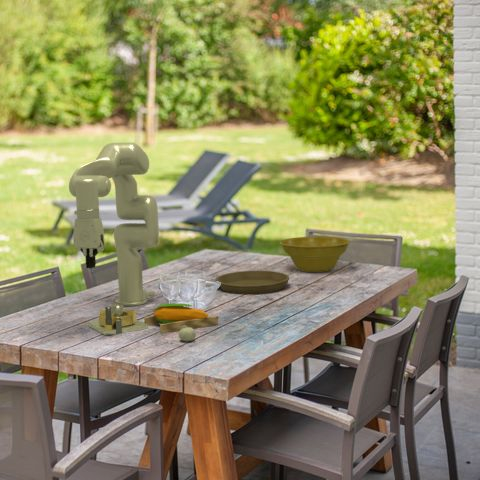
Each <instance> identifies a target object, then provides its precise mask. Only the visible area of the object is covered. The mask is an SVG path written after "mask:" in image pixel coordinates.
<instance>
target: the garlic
mask: <svg viewBox="0 0 480 480" xmlns="http://www.w3.org/2000/svg"><path fill="white" fill-rule="evenodd" d="M183 327H186V328H183ZM182 328H183V329H181V330H180V331H178V338H179V339H180V340H181V341H183V342H188V343H189V342H192V341H194V340H195V339H196V337H197V336H196V335H197V334H196V331H195V328H194V329H192V328H190V327H187V326H185V325H184V326H182Z"/></svg>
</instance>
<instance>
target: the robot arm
mask: <svg viewBox="0 0 480 480" xmlns="http://www.w3.org/2000/svg"><path fill="white" fill-rule="evenodd" d="M149 169H150V160H149V156H148V155H147V153H146V152H145V150H143V148H142V147H141V146H140V145H139V144H137V143H135V142H111V143H107V144H105V145H104V146H103V147H102V149H101V151H100V152H99V153H98V154H97V157H96V158H95V159H94V160H92V161H90V162H86V164H83V165H81V166H79V167H78V168H77V169H75V171H74V172H73V173H72V175H71V177H70V179H69V181H68V191H69V193H70V194H71V196H73V197H75V202H76V203H75V205H76V210H74V212H73V213H74V215H76V218H75V219H74V223H73V241H72V242H73V246H74V247H75V250H76V251H79V252H81V253H82V254H83V257H84V258H85V265H86V266H85V267H86V269H93V268H96V266H97V265H96V264H97V261H96V256H97V255H98V253H100V252H103V251H105V248H104V246H105V231H104V225H103V221H102V218H101V216H100V203H99V198H104V197H107V196H108V195H109V194H110V192H111V190H112V183H111V180H110V179H112V181H113V183H114V190H115V206H116V207H115V208H116V215H117V217H118V218H119V220H123V221H126V220H127V221H144V222H143V223H141V222H128V223H127V222H124V223H120V224H117V226H115V228H114V230H113V241H114V244H115V249H116V261H117V278H118V280H117V282H118V298H117V299H115V301H114V302H115V303H114V304H122V305H123V306H124V307H127V306H128V307H130V306H132V307H134V306H141V305H145V304H147V303H148V297H154V296H156V292H155V290H147V291H146V290H144V284H143V282H144V281H143V280H144V279H143V261H142V260H143V259H142V256H141V254H140V252H139V251H138V250H137V249H138V248H139V249H140V248H144V249H145V248H155V247H156V246H157V245H158V243H159V240H160V237H159V236H160V229H159V210H158V203H157V200H156V198H155V197H153V196H152V195H147V194H146V195H141V194H140V195H139V194H138V183H137V180H136V178H135V175H137V176H139V175H140V176H141V175H145V174H146V173H148V171H149ZM133 175H134V176H133Z"/></svg>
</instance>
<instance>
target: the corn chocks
mask: <svg viewBox="0 0 480 480" xmlns="http://www.w3.org/2000/svg"><path fill="white" fill-rule="evenodd" d="M198 310H202V309H200V308H198ZM143 318H144V320H143V322H144V323H146V324H148V327H150V326H155V325H159V333H160V334H161V335H163V334H169V333H175V332H179V331H180V330H181V329H183V328H186V327H183V328H182V326H184V325H185V326H187V327H190V328H192V329H194V330H195V329H199V328H205V327H212V326H213V327H214V326H218V325H219V316H218V315H212V316H208V317H207V318H203V319H192V320H185V321H179V322H172V323H162V322H160V321H158V320H157V319H156V318H155V317H154V315H151V316H144V317H143Z"/></svg>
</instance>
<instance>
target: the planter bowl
mask: <svg viewBox="0 0 480 480" xmlns="http://www.w3.org/2000/svg"><path fill="white" fill-rule="evenodd" d="M350 243H351V240H350V239H347V238H343V237H336V236H335V237H334V236H301V237H291V238H290V237H289V238H286V239H285V238H284V239H282V240H280V241H279V243H278V244H280V245H281V246H282V248H283V251H284V252H285V254H287V255H288V256H290V258H291V260H292V262H293V264H294V266H295V267H296V269H298V270H299V271H300V272H307V273H323V272H324V273H325V272H329V271H331V270H332V269H333V268H335V266H337V263H338V261H339V260H340V257H341V256H342V254H344V253H345V252H346V251H347V248H348V247H349V244H350Z"/></svg>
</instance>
